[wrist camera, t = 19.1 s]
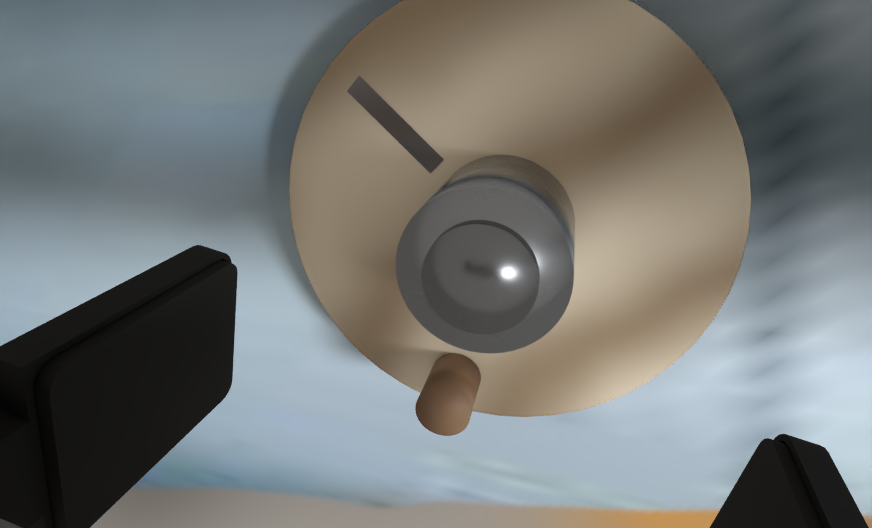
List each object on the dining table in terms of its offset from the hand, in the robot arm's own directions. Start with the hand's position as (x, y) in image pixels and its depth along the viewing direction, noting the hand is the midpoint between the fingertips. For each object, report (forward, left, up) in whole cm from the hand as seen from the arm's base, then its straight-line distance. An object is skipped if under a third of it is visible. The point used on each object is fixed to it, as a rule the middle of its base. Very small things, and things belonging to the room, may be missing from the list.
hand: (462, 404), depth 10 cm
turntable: (+1, 0, -13) cm, 13 cm away
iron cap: (+1, 0, -11) cm, 11 cm away
